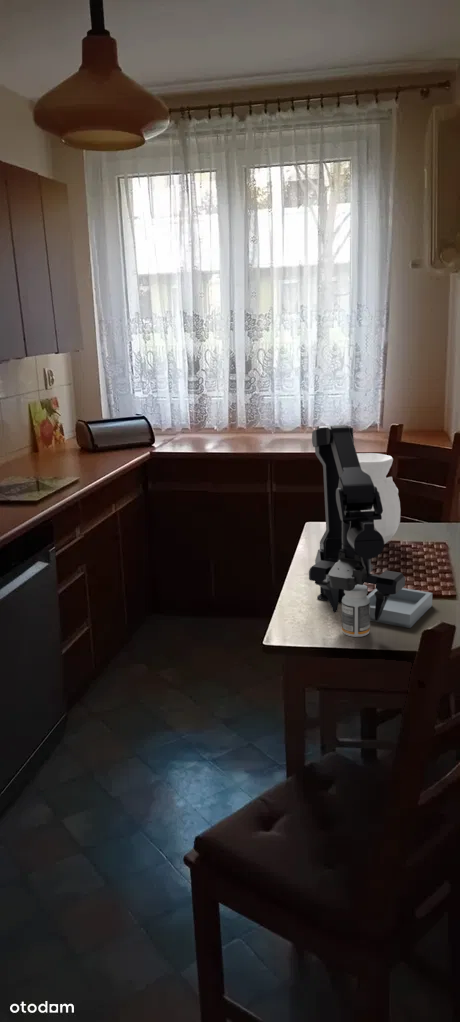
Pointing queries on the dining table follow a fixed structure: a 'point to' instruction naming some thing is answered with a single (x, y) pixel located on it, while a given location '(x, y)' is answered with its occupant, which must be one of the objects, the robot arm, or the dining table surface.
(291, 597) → the dining table surface
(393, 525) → the pitcher
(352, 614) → the pill bottle
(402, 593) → the tray
